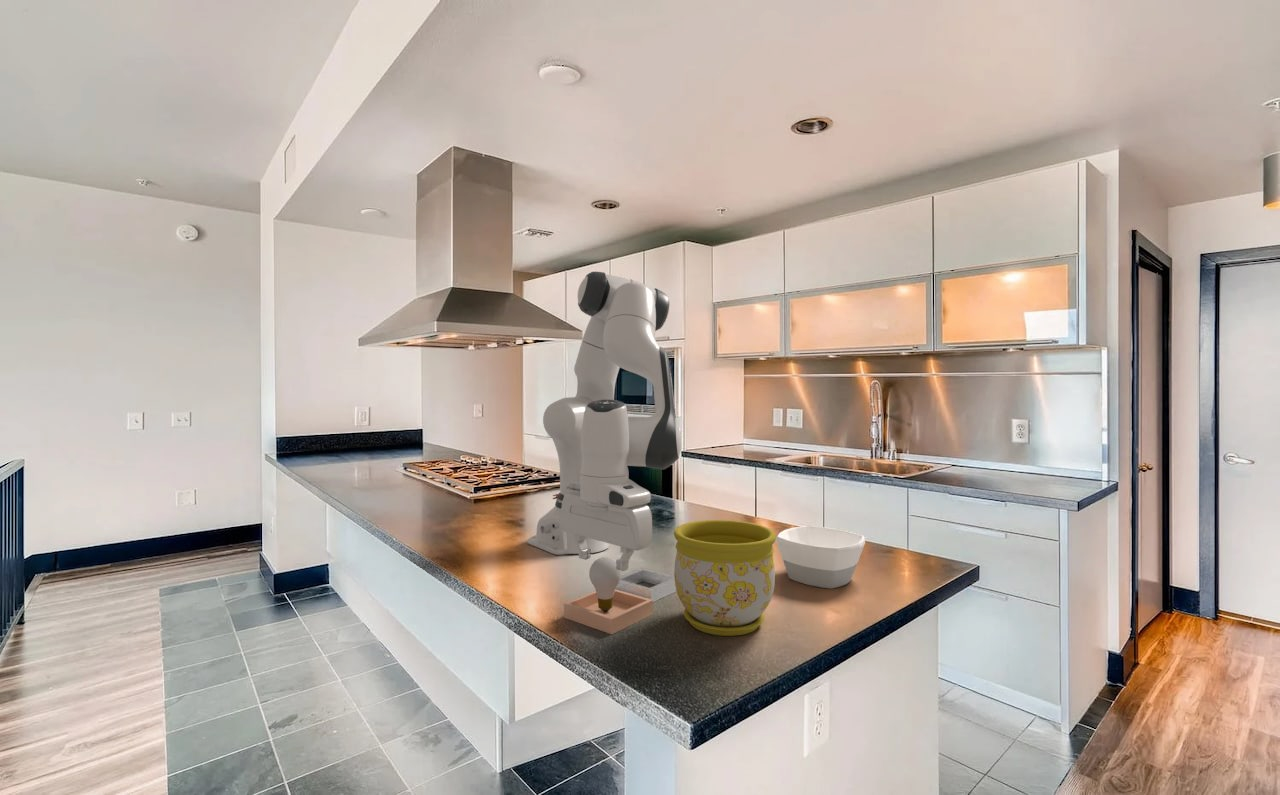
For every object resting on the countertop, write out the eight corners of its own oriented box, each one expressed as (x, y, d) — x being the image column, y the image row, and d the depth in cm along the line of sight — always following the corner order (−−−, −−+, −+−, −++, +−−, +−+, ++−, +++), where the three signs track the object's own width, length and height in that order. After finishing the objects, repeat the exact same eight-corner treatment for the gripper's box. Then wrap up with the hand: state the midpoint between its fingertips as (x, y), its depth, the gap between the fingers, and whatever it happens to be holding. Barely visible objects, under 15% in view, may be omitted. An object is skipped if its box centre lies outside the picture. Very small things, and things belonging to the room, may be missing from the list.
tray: (563, 617, 110) (563, 603, 110) (606, 599, 119) (606, 586, 119) (611, 634, 103) (611, 619, 103) (653, 614, 112) (653, 600, 112)
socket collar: (610, 591, 124) (610, 579, 124) (642, 578, 132) (642, 567, 132) (650, 603, 117) (650, 591, 117) (681, 588, 125) (681, 577, 125)
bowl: (763, 579, 132) (763, 536, 132) (802, 561, 145) (803, 522, 145) (841, 599, 120) (841, 552, 120) (876, 578, 133) (877, 535, 133)
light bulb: (606, 602, 116) (606, 551, 115) (627, 611, 112) (627, 557, 111) (582, 611, 112) (582, 557, 111) (604, 620, 107) (603, 564, 107)
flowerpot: (704, 651, 97) (705, 549, 96) (657, 611, 113) (657, 524, 113) (796, 632, 104) (797, 538, 103) (738, 598, 120) (739, 516, 120)
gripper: (552, 483, 115) (551, 556, 115) (635, 499, 101) (633, 581, 102) (576, 479, 119) (575, 549, 120) (658, 494, 106) (656, 572, 107)
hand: (602, 564), depth 111 cm, fingers open, 8 cm apart
